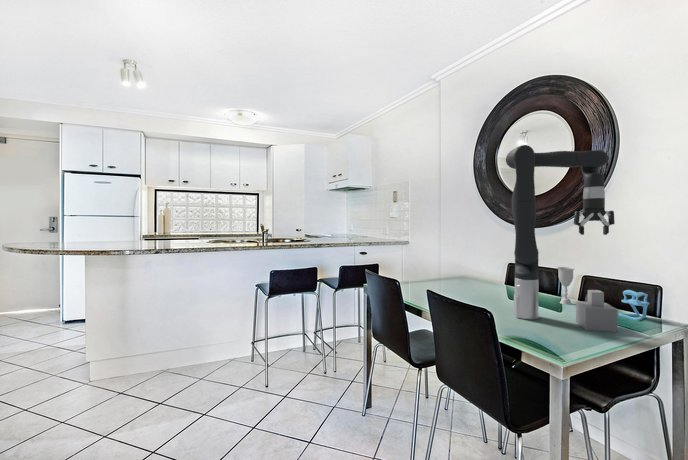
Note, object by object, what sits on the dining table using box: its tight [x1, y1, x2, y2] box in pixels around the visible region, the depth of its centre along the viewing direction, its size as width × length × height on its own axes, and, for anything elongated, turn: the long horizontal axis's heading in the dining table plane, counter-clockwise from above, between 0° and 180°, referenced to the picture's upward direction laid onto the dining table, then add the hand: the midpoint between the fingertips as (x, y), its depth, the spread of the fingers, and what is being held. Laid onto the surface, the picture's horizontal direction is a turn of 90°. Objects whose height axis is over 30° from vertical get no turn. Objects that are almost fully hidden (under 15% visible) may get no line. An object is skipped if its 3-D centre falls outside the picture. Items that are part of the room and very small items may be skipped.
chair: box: [618, 289, 650, 322], centre depth 141 cm, size 8×8×12 cm
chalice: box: [557, 266, 575, 305], centre depth 166 cm, size 7×7×18 cm
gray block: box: [575, 289, 618, 333], centre depth 130 cm, size 10×10×14 cm
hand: (593, 234), depth 143 cm, fingers open, 8 cm apart
